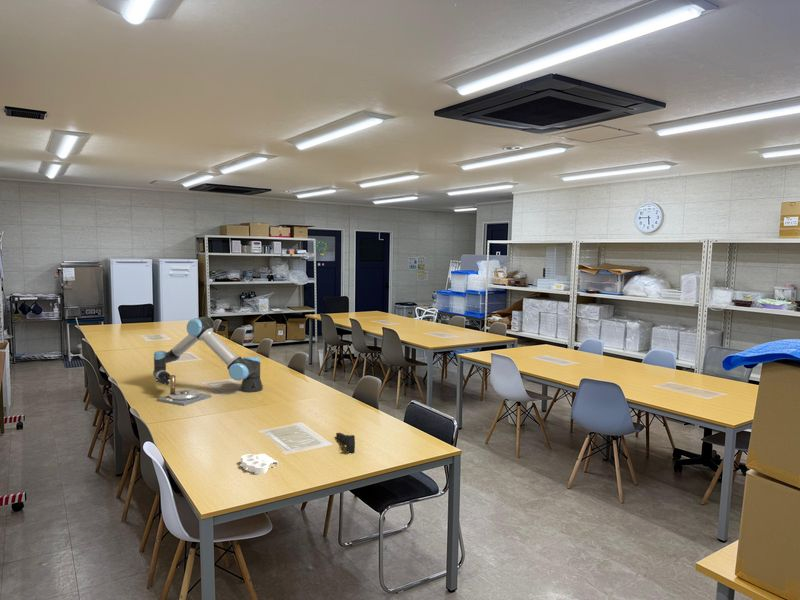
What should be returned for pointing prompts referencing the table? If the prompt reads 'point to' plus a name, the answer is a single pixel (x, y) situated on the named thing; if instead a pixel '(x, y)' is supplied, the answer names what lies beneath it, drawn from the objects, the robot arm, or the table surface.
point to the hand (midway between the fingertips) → (171, 383)
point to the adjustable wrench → (347, 441)
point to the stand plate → (184, 402)
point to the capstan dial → (181, 392)
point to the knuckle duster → (257, 463)
